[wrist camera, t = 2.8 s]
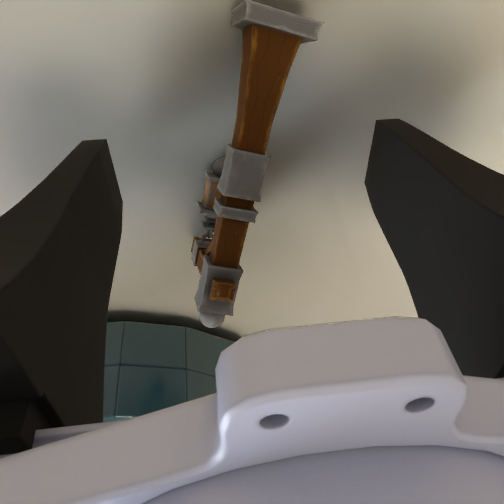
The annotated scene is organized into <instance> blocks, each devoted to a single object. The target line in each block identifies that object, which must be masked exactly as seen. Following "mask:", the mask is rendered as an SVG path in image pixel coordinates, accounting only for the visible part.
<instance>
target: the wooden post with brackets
mask: <svg viewBox="0 0 504 504" xmlns="http://www.w3.org/2000/svg"><path fill="white" fill-rule="evenodd" d="M231 12H232V14H233V17H232V24H231V26H230V27H233V28H237V29H240V30H242V66H241V77H240V88H239V98H238V109H237V118H236V124H235V130H234V135H233V141H232V145H229V144H226V156H225V157H222V158H219V159H217V160H216V161H215V163H214V165H213V171H214V172H209V171H205V175H206V183H205V191H204V198H203V201H202V202H200V201H197V203H196V204H197V206H198V209H199V211H200V213H203V214H205V215H206V216H205V219H206V221H207V222H206V221H202V222H201V223H202V225H203V227H204V228H205V229H206V230H207V231H208V232H207V234H205V235H203V236H202V238H199V237H194V239H193V244H192V250H191V252H192V262H193V265H194V266H198V269H199V272H200V275H201V277H200V281H199V286H198V290H197V293H196V295H195V297H194V298H195V302H196V306H197V309H198V311H199V312H200V313H199V318H200V321H201V322H202V324H203V325H204V326H206V327H209V328H215V327H217V326H219V325H221V324H222V323H223V321H224V318H225V315H230V316H233V305H234V301H235V297H236V293H237V288H238V284H239V280H240V278H241V275H242V273H243V270H242V268H241V266H240V265H239V260H240V256H241V252H242V248H243V244H244V240H245V236H246V232H247V228H248V224H249V222H253V223H255V218H256V215H257V214H258V212H257V211H256V210H255V209H254V208H253V205H254V201H257V202H261V187H262V183H263V178H264V173H265V169H266V166H267V164H268V161H269V159H270V156H268V155H267V154H265V150H266V146H267V142H268V138H269V133H270V129H271V125H272V122H273V119H274V116H275V113H276V110H277V107H278V104H279V101H280V98H281V95H282V92H283V88H284V85H285V82H286V79H287V76H288V73H289V70H290V67H291V65H292V62H293V60H294V58H295V55H296V53H297V50H298V48H299V46H300V44H301V43H306V42H311V41H316V40H317V34H318V32H319V29H320V27H321V26H322V25H323V24H324V22H321V21H317V20H314V19H311V18H307V17H304V16H301V15H297V14H294V13H291V12H287V11H284V10H281V9H277V8H274V7H271V6H268V5H264V4H261V3H258V2H254V1H251V0H245V1H243V2H242V3H240V4H239V5H238V6H236V7H235V8H233V9H232V10H231ZM212 232H214V234H212ZM206 236H207V237H208V238H211V237H212V238H213V239H205V237H206Z"/></svg>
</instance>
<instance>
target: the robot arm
mask: <svg viewBox="0 0 504 504" xmlns="http://www.w3.org/2000/svg"><path fill="white" fill-rule="evenodd" d="M365 185H366V189H367V193H368V196H369V200H370V203H371V206H372V209H373V212H374V214H375V216H376V218H377V220H378V223H379V225H380V227H381V229H382V231H383V233H384V235H385V237H386V239H387V241H388V243H389V245H390V247H391V249H392V251H393V253H394V256H395V258H396V260H397V262H398V264H399V266H400V268H401V270H402V272H403V275H404V277H405V279H406V282H407V284H408V287H409V290H410V293H411V296H412V299H413V302H414V305H415V307H416V310H417V314H418V317H419V318H411V317H398V316H394V317H384V318H374V319H364V320H354V321H344V322H334V323H324V324H314V325H304V326H294V327H284V328H275V329H268V330H264V331H260V332H257V333H253V334H249V335H245V336H243V337H242V338H240V339H239V340H237V341H236V342H235V343H233V344H232V345H230V346H229V347H228V348H226V349H225V350H224V351H222V352H221V354H220V357H219V360H218V363H217V365H216V368H215V374H216V390H217V392H216V393H214V394H211V395H208V396H204V397H201V398H198V399H194V400H191V401H188V402H185V403H181V404H178V405H175V406H171V407H168V408H165V409H161V410H158V411H155V412H152V413H148V414H145V415H142V416H138V417H135V418H132V419H128V420H120V421H111V422H103V402H104V367H105V346H106V329H107V314H108V305H109V298H110V292H111V287H112V282H113V276H114V271H115V266H116V261H117V255H118V250H119V244H120V239H121V233H122V207H123V201H122V197H121V194H120V190H119V186H118V182H117V178H116V174H115V170H114V167H113V163H112V159H111V155H110V151H109V147H108V143H107V140H106V139H101V140H87V141H82V142H81V143H80V144H79V145H78V146H77V147H76V148H75V149H74V150H73V151H72V152H71V153H70V154H69V155H68V156H67V157H66V158H65V159H64V160H63V161H62V162H61V163H60V164H59V165H58V166H57V167H56V168H55V169H54V170H53V171H52V172H51V173H50V174H49V175H48V176H47V177H46V178H45V179H44V180H43V181H42V182H41V183H40V184H39V185H38V186H37V187H36V188H34V189H33V190H32V191H31V192H30V193H29V194H28V195H27V196H26V197H24V198H23V199H22V200H21V201H20V202H19V203H18V204H16V205H15V206H14V207H13V208H11V209H10V210H9V211H7V212H6V213H5V214H3V215H2V216H1V217H0V504H504V175H503V174H500V173H498V172H496V171H494V170H491V169H489V168H487V167H485V166H483V165H481V164H479V163H477V162H475V161H473V160H471V159H469V158H467V157H466V156H464V155H462V154H460V153H458V152H457V151H455V150H453V149H451V148H450V147H448V146H446V145H444V144H443V143H441V142H439V141H438V140H436V139H434V138H433V137H431V136H429V135H428V134H426V133H424V132H422V131H421V130H419V129H417V128H416V127H414V126H412V125H410V124H408V123H407V122H405V121H402V120H400V119H385V120H376V123H375V129H374V134H373V140H372V145H371V151H370V156H369V161H368V167H367V172H366V178H365Z"/></svg>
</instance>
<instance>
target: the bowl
mask: <svg viewBox="0 0 504 504" xmlns="http://www.w3.org/2000/svg"><path fill="white" fill-rule="evenodd" d="M233 343H235V342H234V341H231V340H227V339H224V338H221V337H218V336H215V335H212V334H208V333H205V332H202V331H199V330H196V329H193V328H189V327H184V326H174V325H164V324H153V323H143V322H132V321H125V322H124V321H117V322H107V329H106V346H105V367H104V402H103V422H111V421H120V420H128V419H132V418H135V417H138V416H142V415H145V414H148V413H152V412H155V411H158V410H161V409H165V408H168V407H171V406H175V405H178V404H181V403H185V402H188V401H191V400H194V399H198V398H201V397H204V396H208V395H211V394H214V393H216V392H217V390H216V374H215V368H216V365H217V363H218V360H219V357H220V354H221V352H222V351H224V350H225V349H226V348H228V347H229V346H230V345H232V344H233Z"/></svg>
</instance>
